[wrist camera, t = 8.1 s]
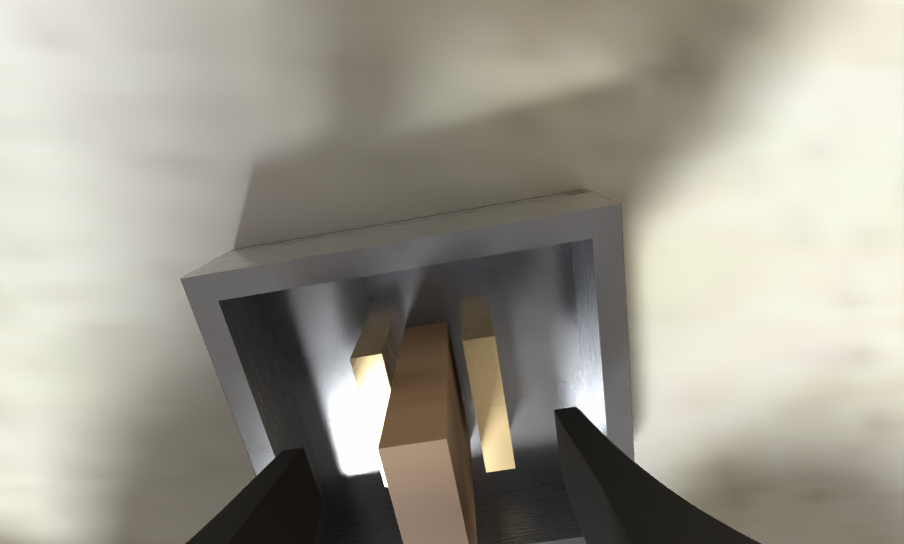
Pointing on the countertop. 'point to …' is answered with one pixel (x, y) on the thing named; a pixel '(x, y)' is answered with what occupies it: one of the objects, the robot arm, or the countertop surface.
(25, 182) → the countertop surface
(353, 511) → the square metal tray
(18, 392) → the countertop surface
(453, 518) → the tan wooden brick
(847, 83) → the countertop surface
